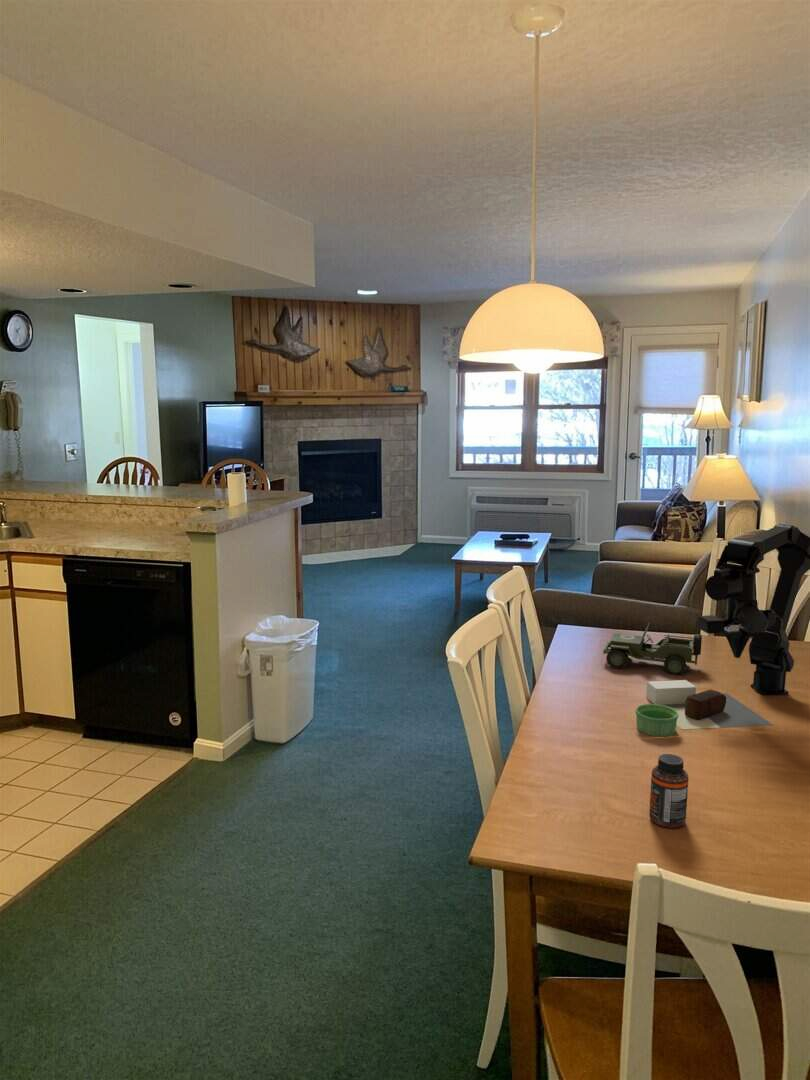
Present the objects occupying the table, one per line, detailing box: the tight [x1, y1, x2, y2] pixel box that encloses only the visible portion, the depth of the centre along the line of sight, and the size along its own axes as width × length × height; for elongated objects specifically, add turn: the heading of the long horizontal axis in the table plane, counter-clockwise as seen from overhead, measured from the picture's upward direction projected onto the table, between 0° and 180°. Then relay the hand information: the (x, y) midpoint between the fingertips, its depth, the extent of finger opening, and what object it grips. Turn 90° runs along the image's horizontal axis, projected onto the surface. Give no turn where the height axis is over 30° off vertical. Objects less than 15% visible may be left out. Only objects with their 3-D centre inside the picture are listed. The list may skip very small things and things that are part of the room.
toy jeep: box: [602, 622, 703, 676], centre depth 213 cm, size 12×25×11 cm, turn 68°
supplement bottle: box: [648, 753, 689, 829], centre depth 132 cm, size 6×6×11 cm
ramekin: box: [635, 703, 679, 738], centre depth 171 cm, size 9×9×4 cm
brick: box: [685, 689, 726, 720], centre depth 179 cm, size 11×4×5 cm, turn 127°
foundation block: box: [645, 679, 697, 705], centre depth 188 cm, size 10×5×4 cm, turn 97°
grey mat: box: [646, 692, 774, 730], centre depth 182 cm, size 22×20×1 cm
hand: (737, 657), depth 184 cm, fingers closed
